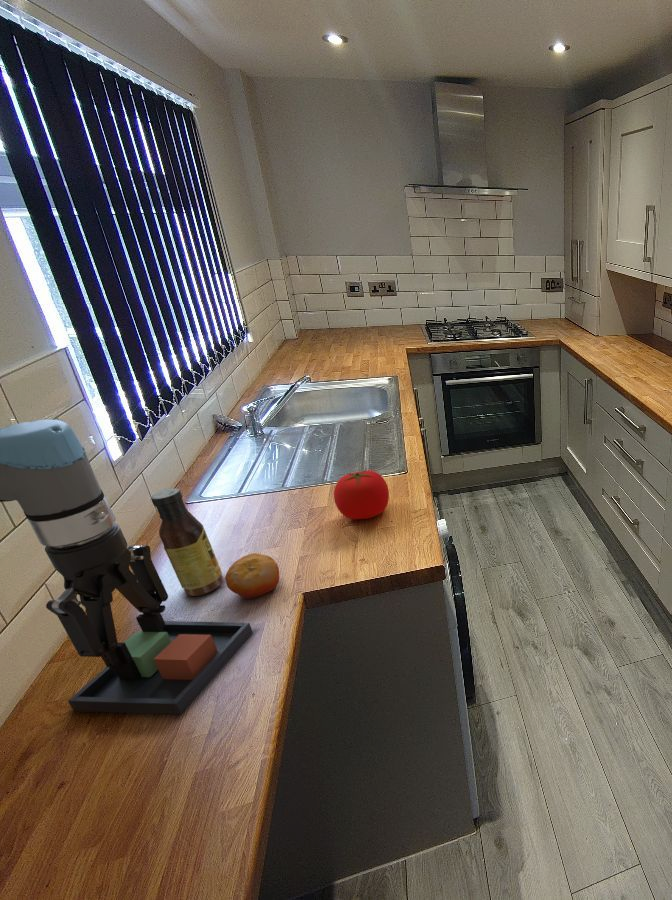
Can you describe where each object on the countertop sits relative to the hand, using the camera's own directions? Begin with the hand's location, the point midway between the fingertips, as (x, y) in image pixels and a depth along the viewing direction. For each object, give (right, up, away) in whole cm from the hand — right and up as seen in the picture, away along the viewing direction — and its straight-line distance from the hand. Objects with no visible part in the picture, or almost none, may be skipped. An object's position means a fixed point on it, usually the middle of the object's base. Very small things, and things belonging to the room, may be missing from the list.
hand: (146, 662), depth 80 cm
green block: (0, 0, 0) cm, 0 cm away
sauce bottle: (-5, +7, +18) cm, 20 cm away
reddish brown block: (+7, -1, 0) cm, 7 cm away
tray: (+3, -1, 0) cm, 4 cm away
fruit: (+6, +6, +17) cm, 19 cm away
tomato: (+15, +17, +41) cm, 47 cm away
